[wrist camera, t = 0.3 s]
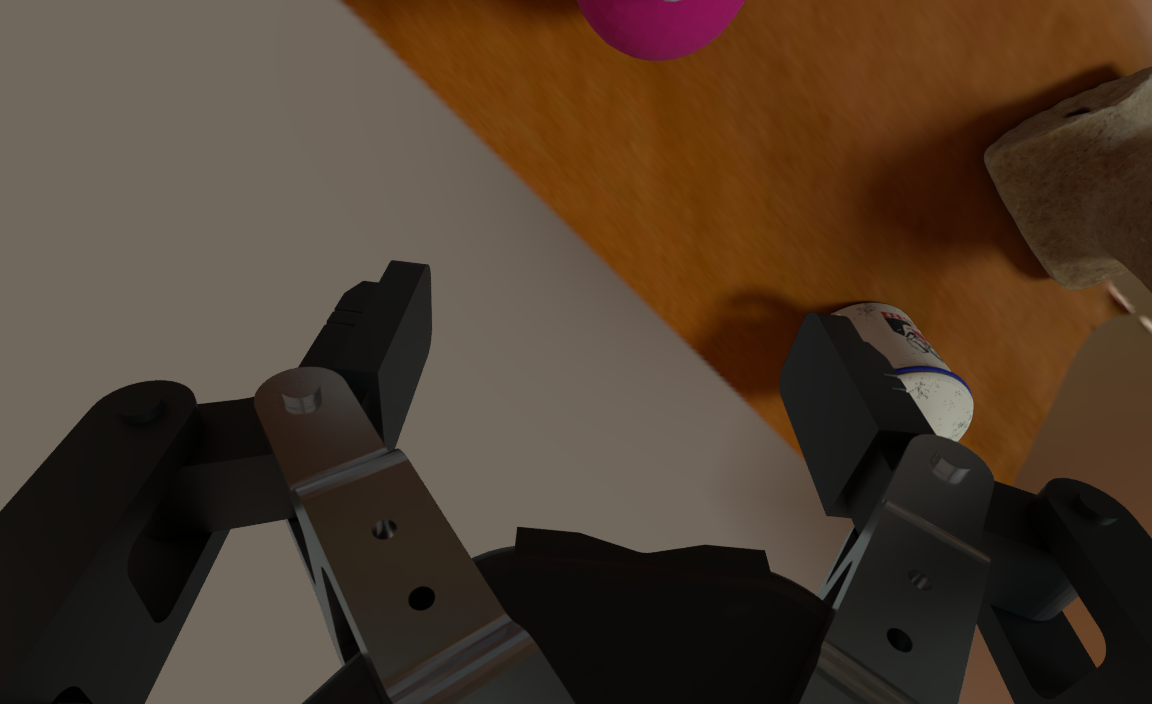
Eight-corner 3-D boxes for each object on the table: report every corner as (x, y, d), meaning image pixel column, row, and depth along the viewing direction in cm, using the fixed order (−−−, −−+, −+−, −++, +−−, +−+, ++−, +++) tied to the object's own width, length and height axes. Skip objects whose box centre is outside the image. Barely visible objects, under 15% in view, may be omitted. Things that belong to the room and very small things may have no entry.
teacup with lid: (935, 351, 48) (1019, 459, 38) (830, 406, 51) (883, 517, 42) (867, 248, 42) (946, 344, 33) (755, 318, 46) (798, 422, 37)
